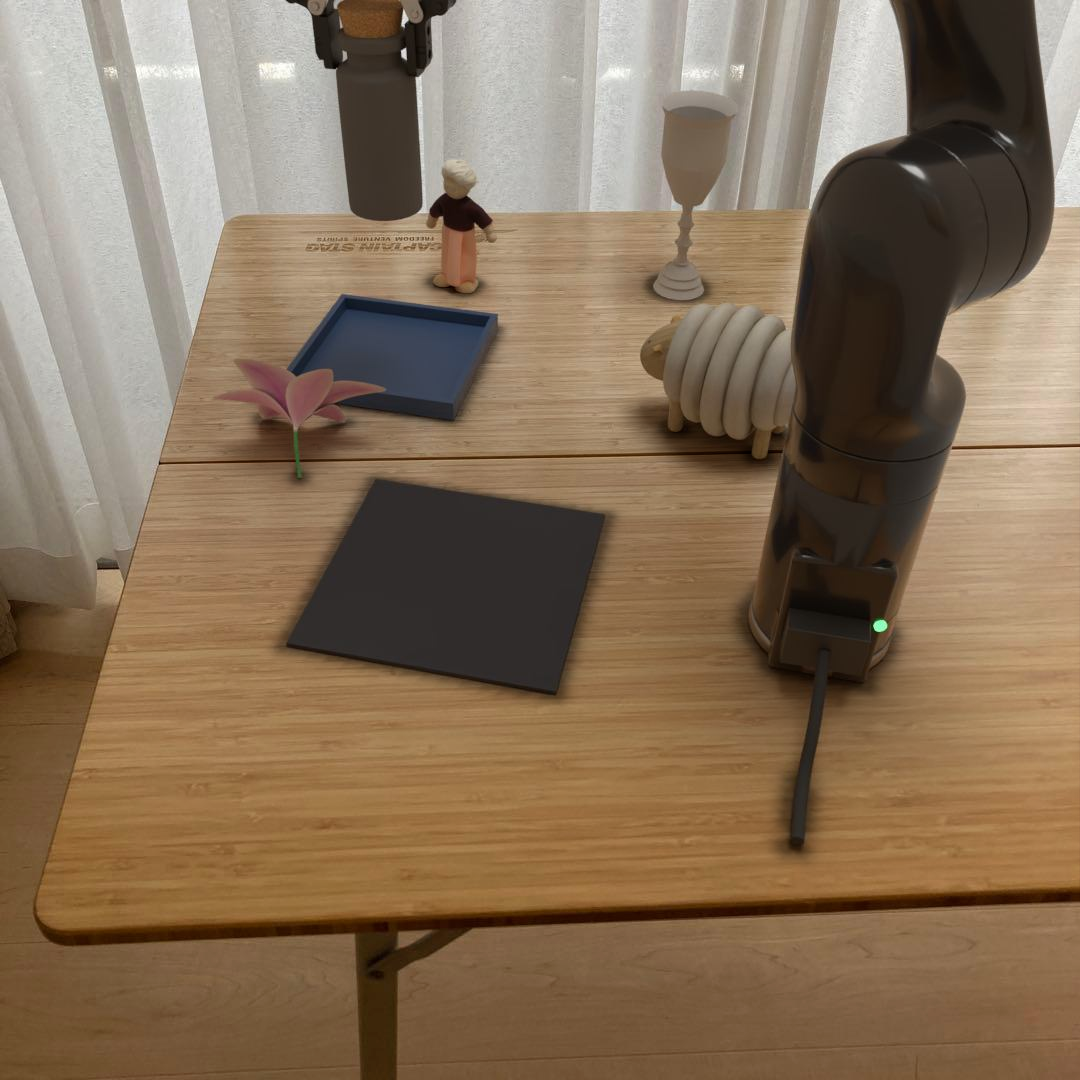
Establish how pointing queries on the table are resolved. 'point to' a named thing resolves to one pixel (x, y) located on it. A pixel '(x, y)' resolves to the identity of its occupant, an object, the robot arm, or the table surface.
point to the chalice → (691, 173)
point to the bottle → (378, 112)
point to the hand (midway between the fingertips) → (375, 69)
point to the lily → (295, 394)
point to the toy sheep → (725, 371)
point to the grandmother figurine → (459, 227)
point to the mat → (455, 585)
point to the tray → (400, 353)
